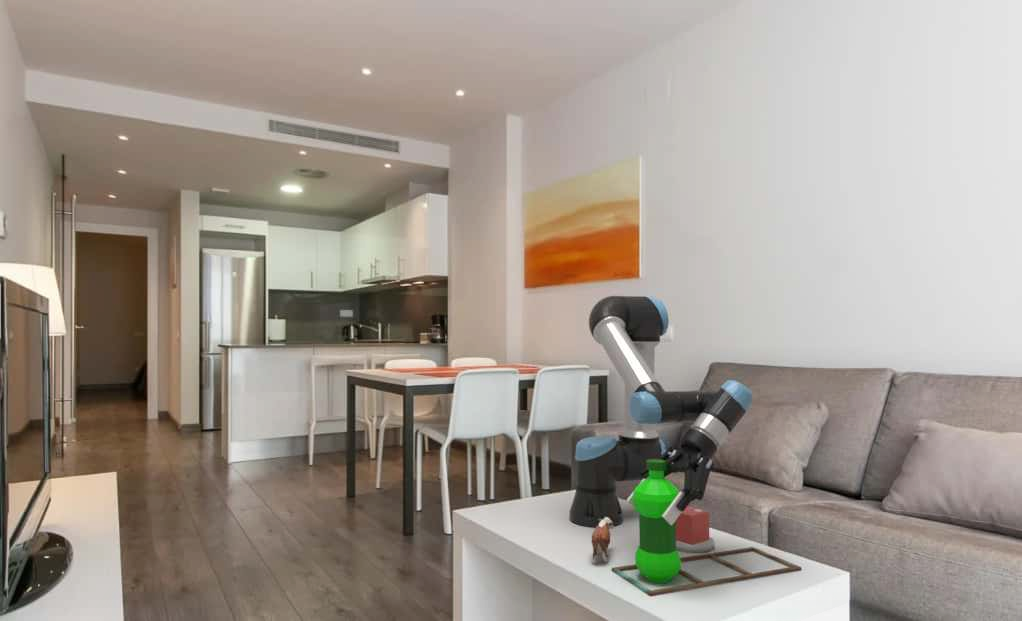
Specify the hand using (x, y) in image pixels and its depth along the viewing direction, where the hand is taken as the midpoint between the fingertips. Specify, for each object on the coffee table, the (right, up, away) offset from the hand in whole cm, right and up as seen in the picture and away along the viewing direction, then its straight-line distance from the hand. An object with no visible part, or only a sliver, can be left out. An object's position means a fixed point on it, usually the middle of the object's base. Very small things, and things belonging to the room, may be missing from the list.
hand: (647, 512), depth 134 cm
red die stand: (+15, -15, +22) cm, 31 cm away
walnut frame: (+14, -15, +5) cm, 21 cm away
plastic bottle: (+2, -14, 0) cm, 15 cm away
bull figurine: (-8, -15, +13) cm, 22 cm away
